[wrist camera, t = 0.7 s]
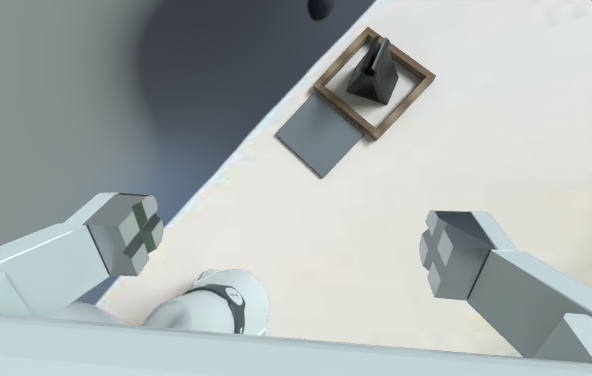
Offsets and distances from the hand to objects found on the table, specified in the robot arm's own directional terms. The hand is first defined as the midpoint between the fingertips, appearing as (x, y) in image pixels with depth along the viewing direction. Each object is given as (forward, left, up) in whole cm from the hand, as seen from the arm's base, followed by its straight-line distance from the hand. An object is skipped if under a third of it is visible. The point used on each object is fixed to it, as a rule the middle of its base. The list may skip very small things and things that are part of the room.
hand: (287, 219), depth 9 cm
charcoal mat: (+11, +17, -52) cm, 56 cm away
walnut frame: (+26, +16, -52) cm, 61 cm away
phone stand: (+26, +16, -53) cm, 61 cm away
